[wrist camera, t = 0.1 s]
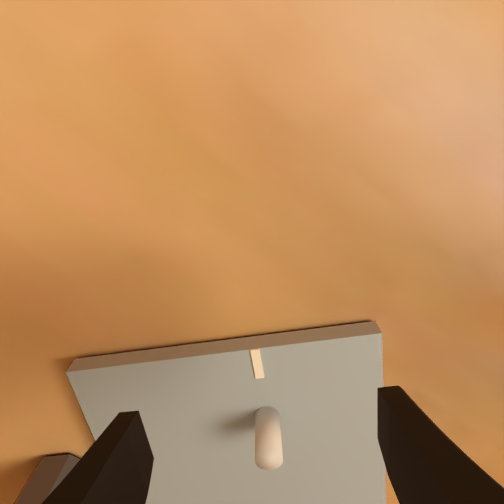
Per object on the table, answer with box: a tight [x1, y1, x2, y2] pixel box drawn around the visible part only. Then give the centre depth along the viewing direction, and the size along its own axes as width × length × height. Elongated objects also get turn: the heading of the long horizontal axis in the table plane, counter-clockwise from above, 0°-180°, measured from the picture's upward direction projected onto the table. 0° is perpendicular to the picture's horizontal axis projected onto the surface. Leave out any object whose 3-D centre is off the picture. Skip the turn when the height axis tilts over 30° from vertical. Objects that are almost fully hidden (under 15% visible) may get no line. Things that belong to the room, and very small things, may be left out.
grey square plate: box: [66, 321, 386, 504], centre depth 23 cm, size 16×18×4 cm
